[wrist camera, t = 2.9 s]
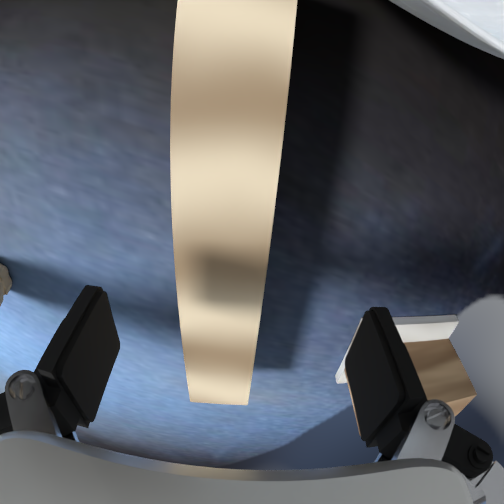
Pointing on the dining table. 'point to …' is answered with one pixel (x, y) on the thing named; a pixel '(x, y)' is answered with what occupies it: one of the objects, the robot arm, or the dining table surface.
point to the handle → (4, 282)
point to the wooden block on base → (430, 359)
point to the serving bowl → (464, 20)
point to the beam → (226, 180)
